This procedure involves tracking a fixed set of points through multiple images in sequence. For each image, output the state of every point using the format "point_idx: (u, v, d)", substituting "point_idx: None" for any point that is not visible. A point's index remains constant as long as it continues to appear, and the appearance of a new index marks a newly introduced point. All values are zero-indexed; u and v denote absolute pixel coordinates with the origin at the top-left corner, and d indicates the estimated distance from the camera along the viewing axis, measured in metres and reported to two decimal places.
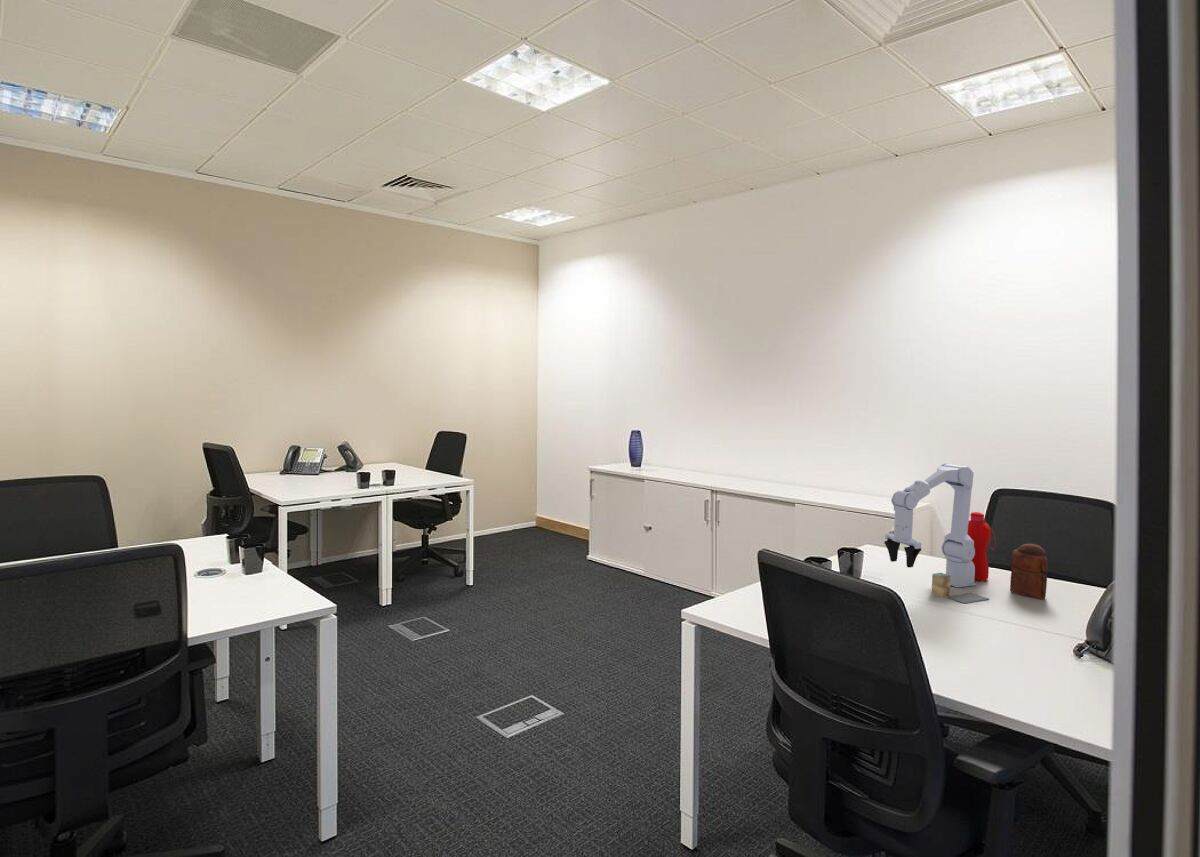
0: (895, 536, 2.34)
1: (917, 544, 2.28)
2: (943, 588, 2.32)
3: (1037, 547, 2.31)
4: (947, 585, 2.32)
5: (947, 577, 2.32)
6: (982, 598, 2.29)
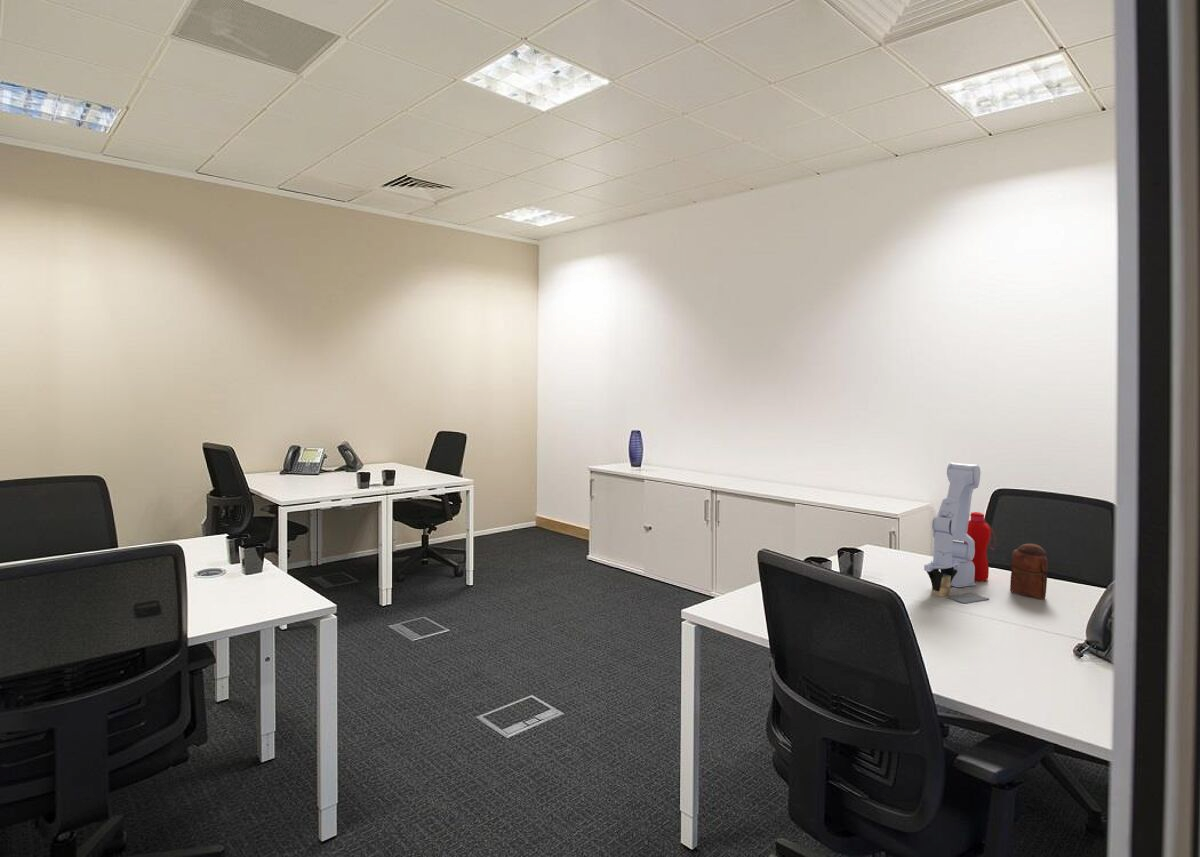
0: None
1: (925, 566, 2.31)
2: (943, 588, 2.32)
3: (1037, 547, 2.31)
4: (947, 585, 2.32)
5: (947, 577, 2.32)
6: (982, 598, 2.29)
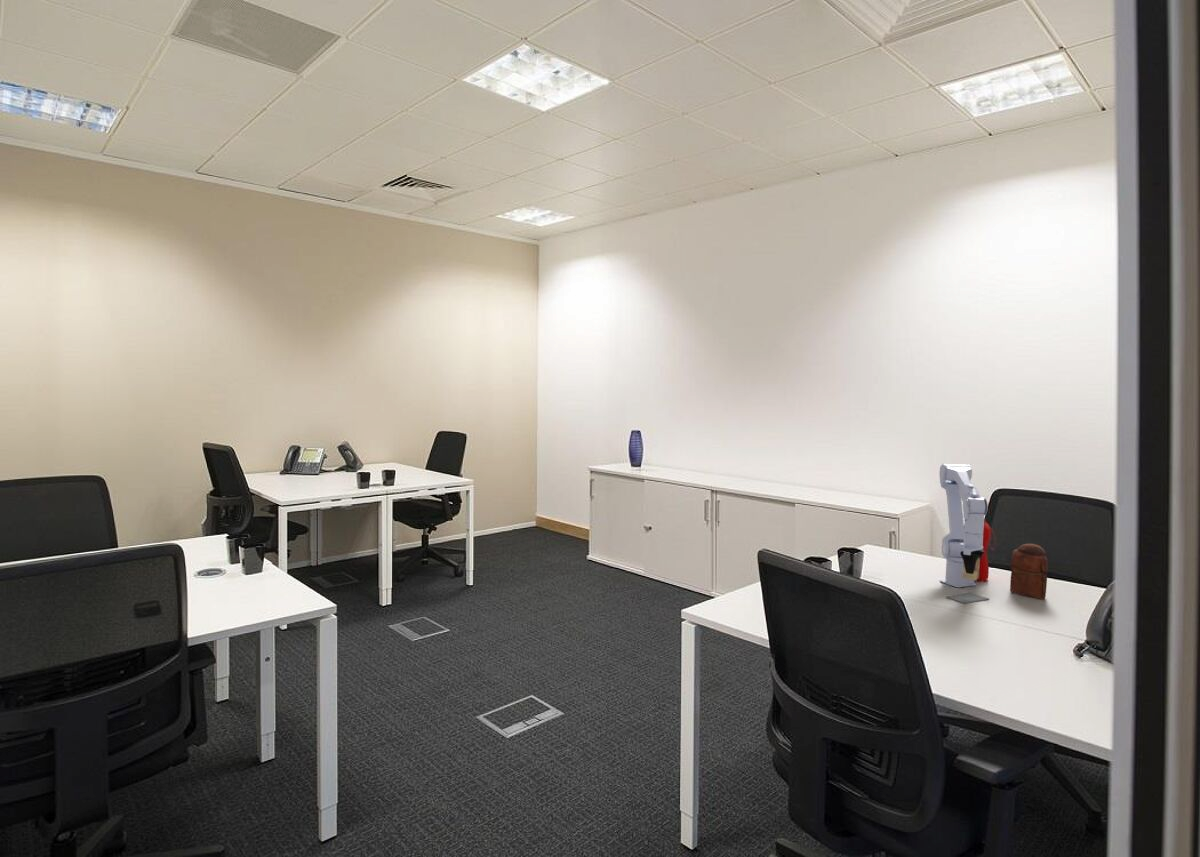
0: None
1: (964, 550, 2.25)
2: (976, 571, 2.29)
3: (1037, 547, 2.31)
4: (978, 567, 2.30)
5: (978, 559, 2.30)
6: (982, 598, 2.29)
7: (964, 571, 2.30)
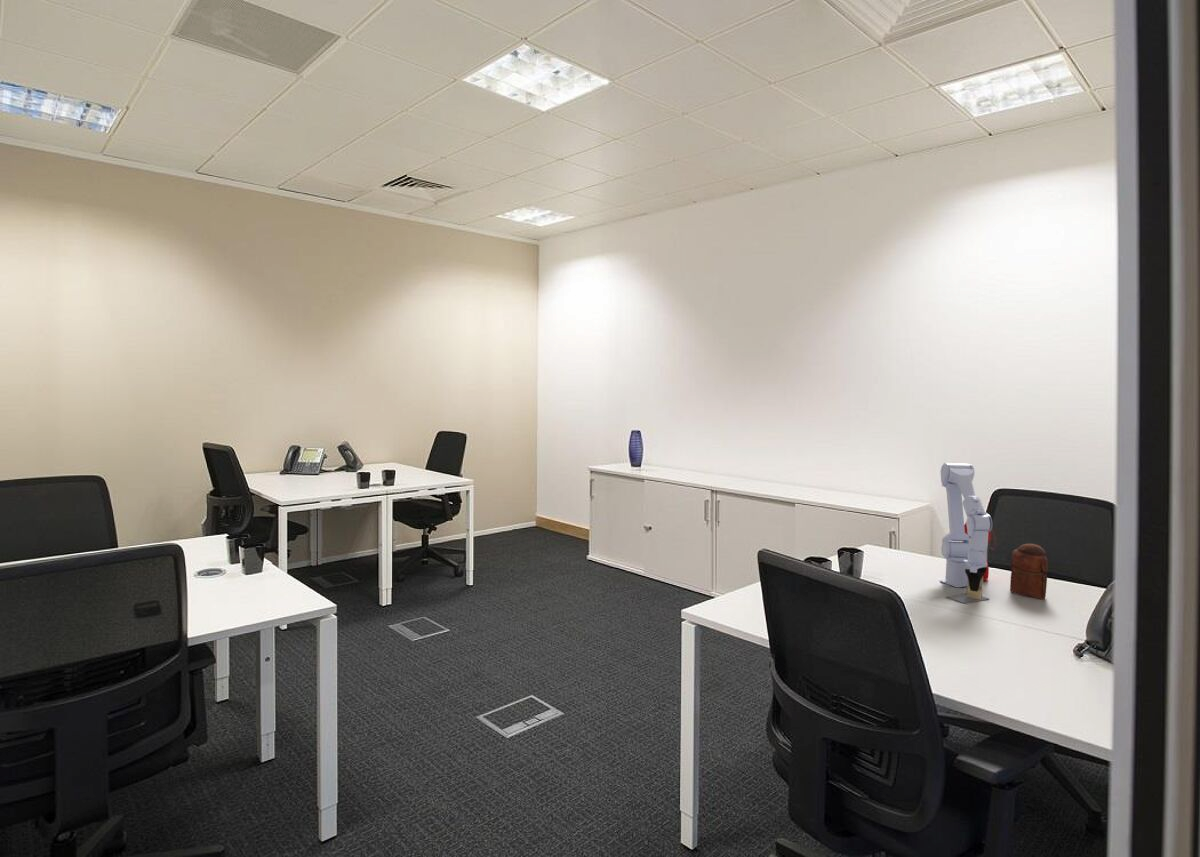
0: None
1: (971, 567, 2.25)
2: (981, 590, 2.29)
3: (1037, 547, 2.31)
4: (982, 586, 2.30)
5: (982, 578, 2.30)
6: (982, 598, 2.29)
7: (969, 590, 2.30)
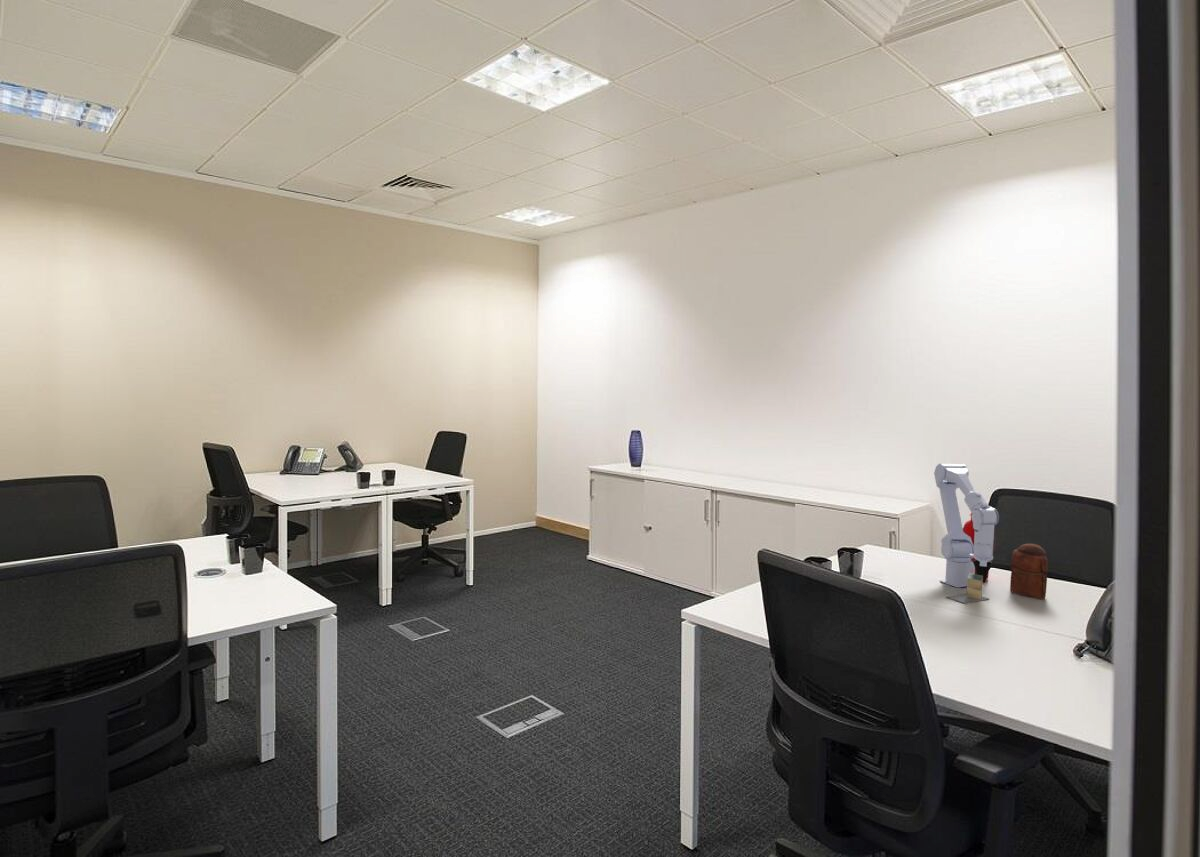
0: (973, 552, 2.33)
1: (981, 561, 2.25)
2: (981, 590, 2.28)
3: (1037, 547, 2.31)
4: (981, 585, 2.29)
5: (982, 578, 2.29)
6: (982, 598, 2.29)
7: (968, 591, 2.30)
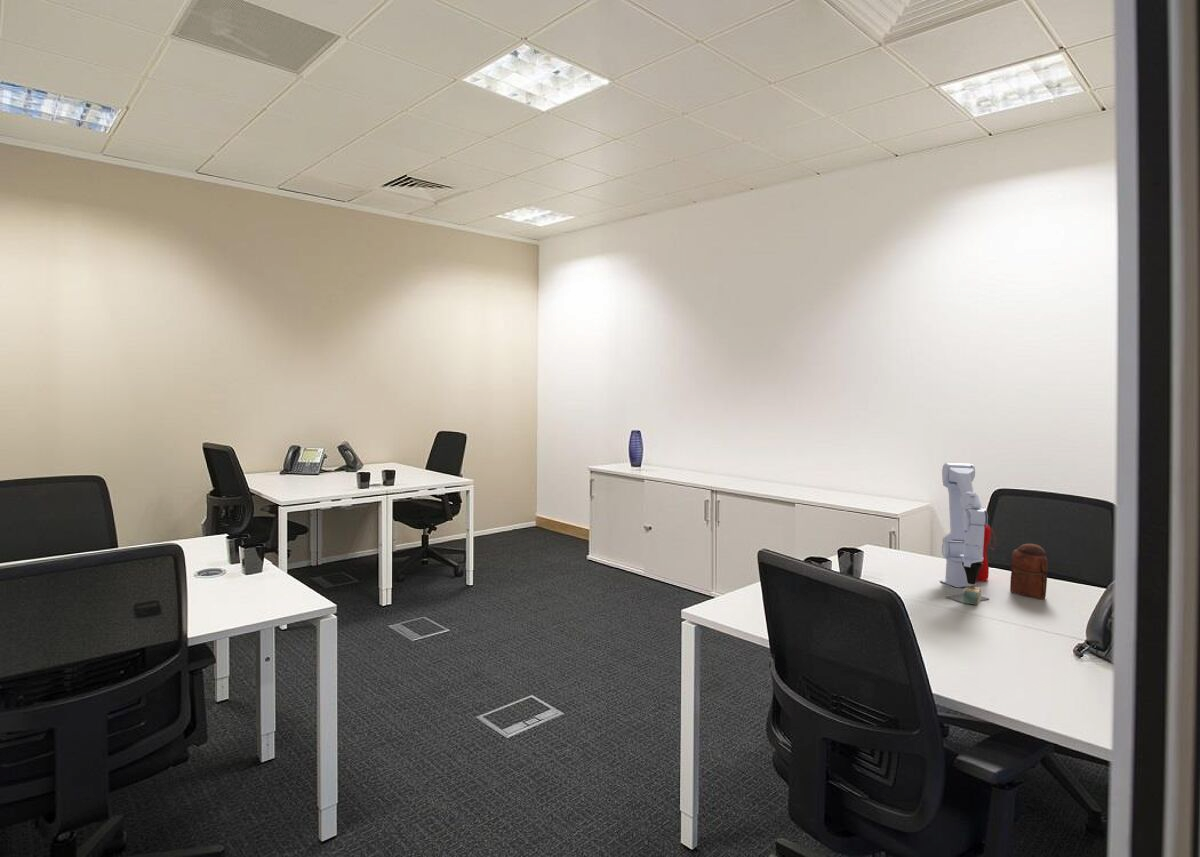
0: None
1: (964, 562, 2.24)
2: (979, 598, 2.26)
3: (1037, 547, 2.31)
4: (979, 594, 2.25)
5: (977, 596, 2.23)
6: (982, 598, 2.29)
7: None
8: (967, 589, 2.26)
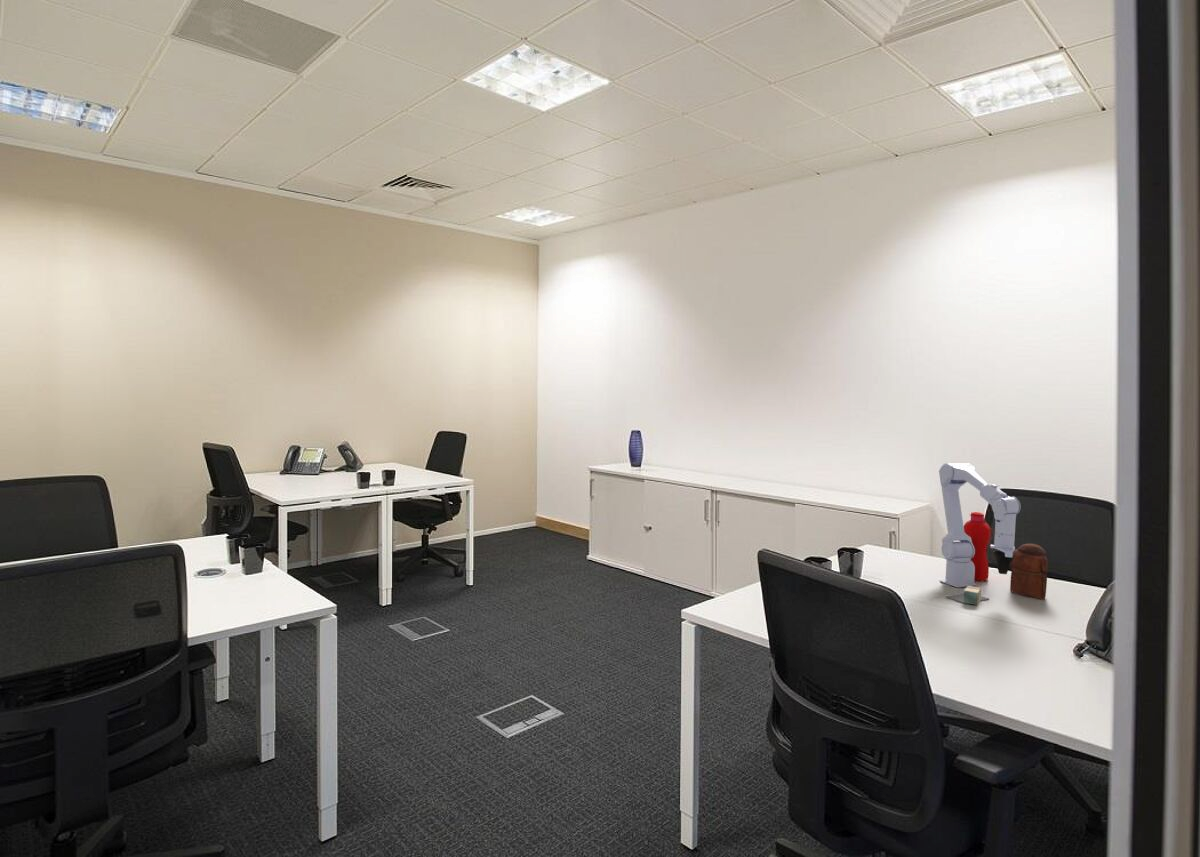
0: (994, 543, 2.26)
1: (1007, 552, 2.18)
2: (979, 598, 2.26)
3: (1037, 547, 2.31)
4: (979, 594, 2.25)
5: (977, 596, 2.23)
6: (982, 598, 2.29)
7: None
8: (967, 589, 2.26)
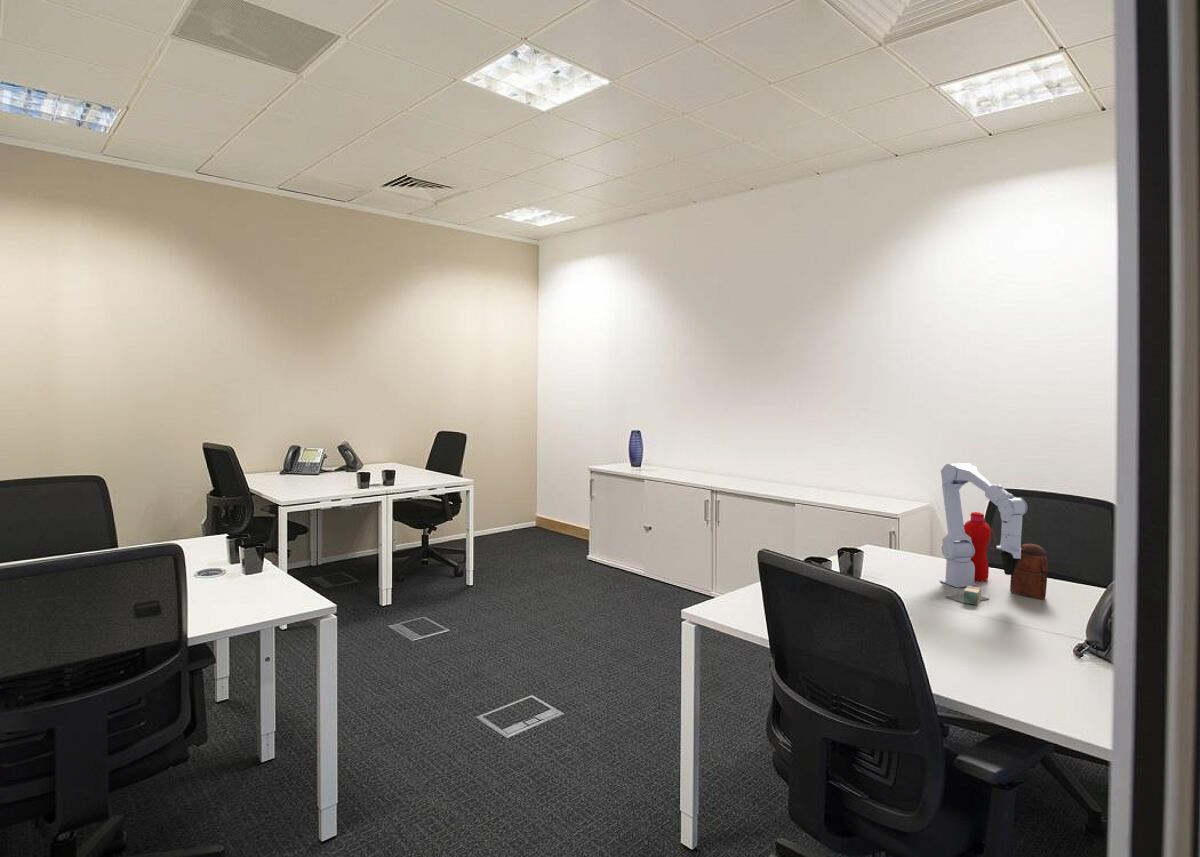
0: (1000, 544, 2.25)
1: (1015, 553, 2.17)
2: (979, 598, 2.26)
3: (1037, 547, 2.31)
4: (979, 594, 2.25)
5: (977, 596, 2.23)
6: (982, 598, 2.29)
7: None
8: (967, 589, 2.26)
